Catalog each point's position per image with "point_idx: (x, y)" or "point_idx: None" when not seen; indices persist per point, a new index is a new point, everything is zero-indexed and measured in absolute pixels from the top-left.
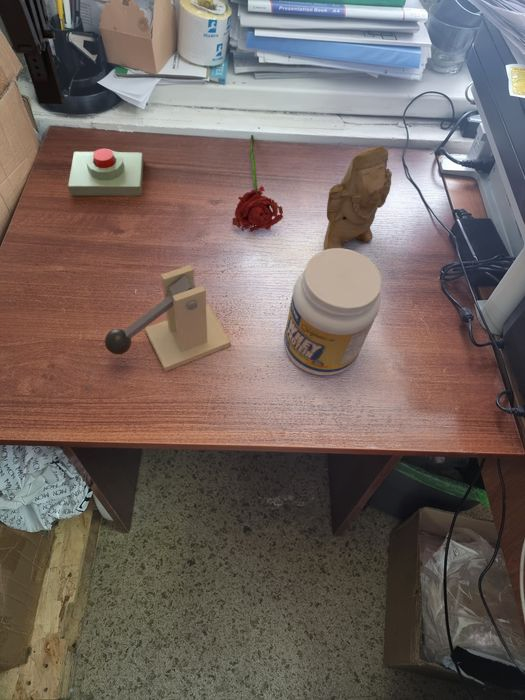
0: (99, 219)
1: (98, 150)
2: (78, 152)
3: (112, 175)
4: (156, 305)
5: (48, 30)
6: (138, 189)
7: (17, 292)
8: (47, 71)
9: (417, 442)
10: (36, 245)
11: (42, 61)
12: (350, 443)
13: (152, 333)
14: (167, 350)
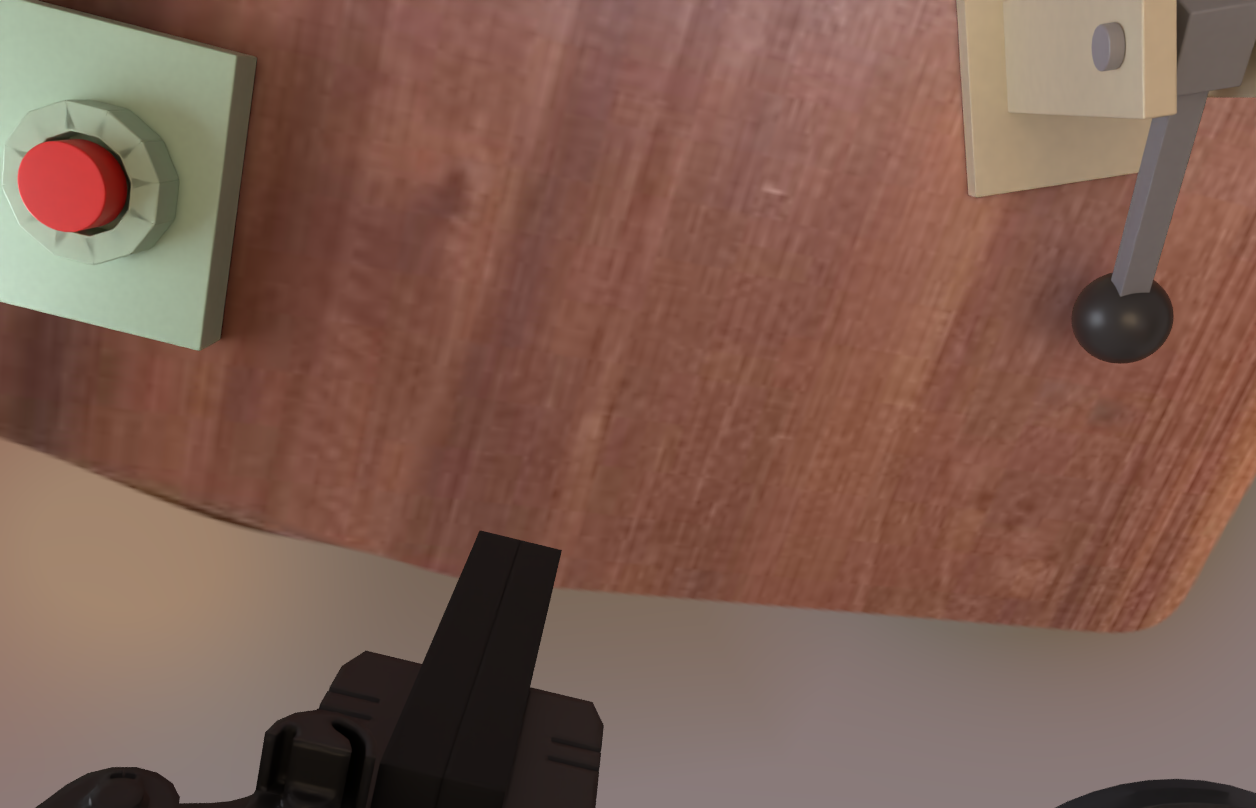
0: (371, 255)
1: (31, 203)
2: None
3: (165, 165)
4: (1158, 162)
5: (266, 779)
6: (242, 65)
7: (661, 563)
8: (529, 712)
9: None
10: (463, 487)
11: (572, 798)
12: None
13: (1009, 175)
14: (1103, 139)
